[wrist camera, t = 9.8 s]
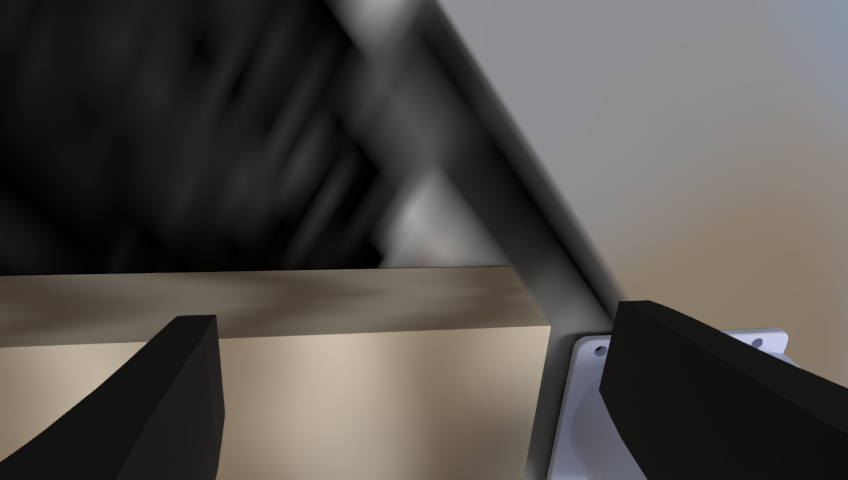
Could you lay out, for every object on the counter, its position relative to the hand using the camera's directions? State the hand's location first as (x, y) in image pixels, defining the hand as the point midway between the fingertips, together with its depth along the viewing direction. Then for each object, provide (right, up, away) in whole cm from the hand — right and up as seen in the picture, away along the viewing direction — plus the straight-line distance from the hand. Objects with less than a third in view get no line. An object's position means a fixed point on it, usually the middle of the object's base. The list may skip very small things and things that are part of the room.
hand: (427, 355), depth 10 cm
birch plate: (-6, -6, +12) cm, 15 cm away
